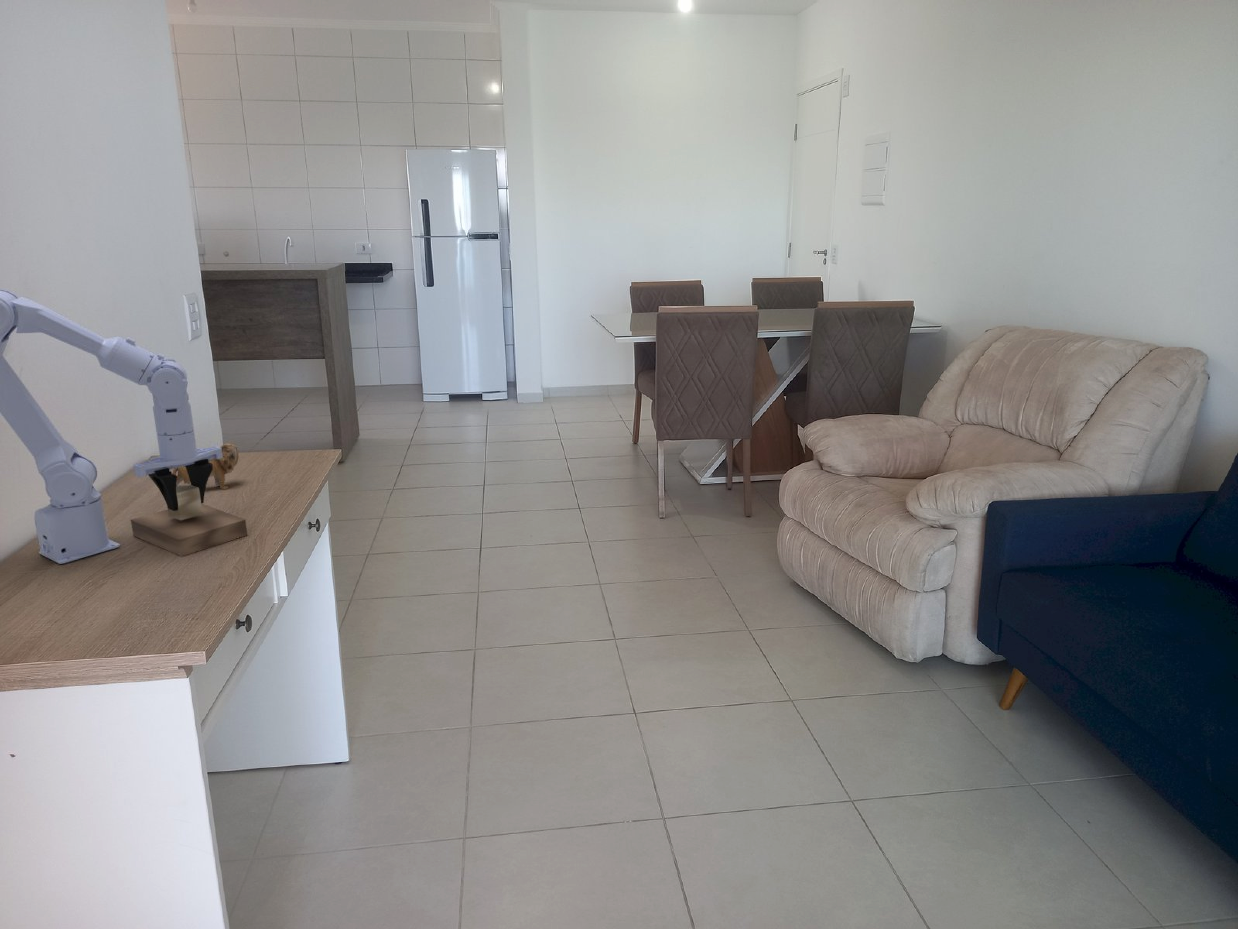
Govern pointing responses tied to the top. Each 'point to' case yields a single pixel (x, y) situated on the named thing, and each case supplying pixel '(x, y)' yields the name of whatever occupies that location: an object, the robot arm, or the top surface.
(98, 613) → the top surface
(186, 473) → the lion figurine
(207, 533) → the walnut plinth
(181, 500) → the birch block
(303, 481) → the top surface
